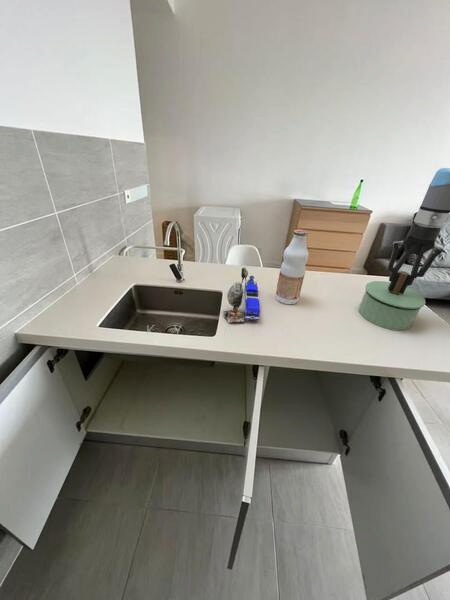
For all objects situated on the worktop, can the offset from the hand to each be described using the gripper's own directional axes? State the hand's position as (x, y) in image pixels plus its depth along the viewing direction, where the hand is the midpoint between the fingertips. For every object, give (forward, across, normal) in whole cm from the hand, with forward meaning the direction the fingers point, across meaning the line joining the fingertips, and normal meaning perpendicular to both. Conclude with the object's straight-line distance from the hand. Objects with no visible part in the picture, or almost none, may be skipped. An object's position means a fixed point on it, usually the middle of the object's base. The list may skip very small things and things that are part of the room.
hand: (395, 290), depth 87 cm
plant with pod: (+11, -50, -29) cm, 59 cm away
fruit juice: (+11, -36, -7) cm, 38 cm away
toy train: (+8, -48, -17) cm, 52 cm away
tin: (+11, 0, 0) cm, 11 cm away
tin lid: (+1, 0, 0) cm, 1 cm away
